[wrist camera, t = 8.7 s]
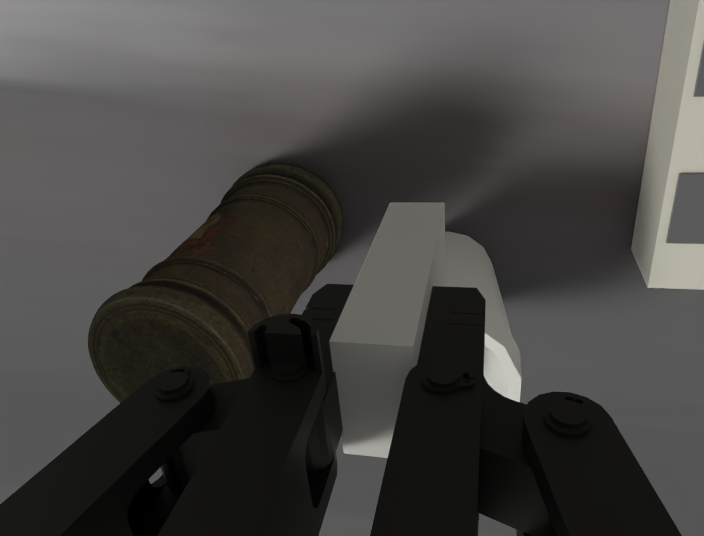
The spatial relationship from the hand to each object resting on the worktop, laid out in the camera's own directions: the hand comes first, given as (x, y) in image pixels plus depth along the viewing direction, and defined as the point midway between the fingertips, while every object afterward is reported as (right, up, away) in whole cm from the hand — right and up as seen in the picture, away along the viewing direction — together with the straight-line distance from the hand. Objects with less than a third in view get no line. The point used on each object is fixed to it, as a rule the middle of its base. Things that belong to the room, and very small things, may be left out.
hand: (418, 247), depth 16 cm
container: (-7, +3, +27) cm, 28 cm away
